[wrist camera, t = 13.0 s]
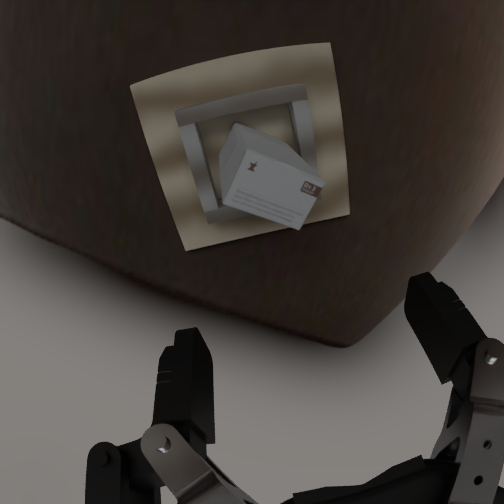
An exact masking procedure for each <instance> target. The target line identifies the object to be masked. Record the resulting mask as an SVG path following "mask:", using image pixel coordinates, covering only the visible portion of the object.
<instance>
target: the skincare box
mask: <svg viewBox="0 0 504 504" xmlns="http://www.w3.org/2000/svg"><path fill="white" fill-rule="evenodd" d="M219 166H220V179H221V191H222V203H223V205H226V206H229V207H232V208H235V209H238V210H241V211H244V212H247V213H250V214H253V215H256V216H259V217H262V218H265V219H268V220H271V221H274V222H277V223H280V224H283V225H285V226H288V227H291V228H294V229H297V230H300V228H301V227H302V225H303V223H304V221H305V219H306V218H307V216H308V214H309V212H310V210H311V209H312V207H313V205H314V203H315V201H316V200H317V198H318V196H319V194H320V193H321V191H322V189H323V187H324V186H325V181H324V180H323V179H322V178H321V177H320V176H319V175H318V174H317V173H316V172H315V171H314V170H313V169H312V168H311V167H310V166H309V165H308V164H307V163H306V162H305V161H304V160H303V159H302V158H301V157H300V156H299V155H298V154H297V153H296V152H295V151H294V150H293V149H292V148H291V147H290V146H289V145H287V144H286V143H285V142H283V141H281V140H278V139H276V138H274V137H272V136H269V135H267V134H265V133H262V132H260V131H257V130H255V129H253V128H250V127H248V126H245V125H243V124H240V123H238V122H233V124H232V126H231V129H230V131H229V133H228V135H227V137H226V140H225V142H224V144H223V146H222V149H221V151H220V154H219Z"/></svg>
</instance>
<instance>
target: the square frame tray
mask: <svg viewBox="0 0 504 504" xmlns="http://www.w3.org/2000/svg"><path fill="white" fill-rule="evenodd" d="M130 89H131V92H132V96H133V99H134V102H135V106H136V109H137V112H138V116H139V119H140V122H141V125H142V128H143V132H144V135H145V138H146V141H147V144H148V147H149V150H150V153H151V156H152V159H153V162H154V165H155V168H156V171H157V174H158V177H159V180H160V183H161V186H162V188H163V191H164V194H165V197H166V200H167V202H168V205H169V208H170V211H171V213H172V216H173V219H174V221H175V224H176V227H177V229H178V232H179V235H180V237H181V240H182V242H183V245H184V248H185V250H186V251H188V250H192V249H197V248H201V247H205V246H210V245H214V244H218V243H223V242H227V241H231V240H236V239H240V238H244V237H249V236H253V235H258V234H262V233H267V232H271V231H276V230H280V229H285V228H289V227H288V226H285V225H283V224H280V223H277V222H274V221H271V220H268V219H265V218H262V217H259V216H256V215H253V214H250V213H247V212H244V211H241V210H238V209H235V208H232V207H229V206H226V205H223V203H222V191H221V179H220V166H219V154H220V151H221V149H222V146H223V144H224V142H225V140H226V137H227V135H228V133H229V131H230V129H231V126H232V124H233V122H238V123H240V124H243V125H245V126H248V127H250V128H253V129H255V130H257V131H260V132H262V133H265V134H267V135H269V136H272V137H274V138H276V139H278V140H281V141H283V142H285V143H286V144H287V145H289V146H290V147H291V148H292V149H293V150H294V151H295V152H296V153H297V154H298V155H299V156H300V157H301V158H302V159H303V160H304V161H305V162H306V163H307V164H308V165H309V166H310V167H311V168H312V169H313V170H314V171H315V172H316V173H317V174H318V175H319V176H320V177H321V178H322V179H323V180H324V181H325V186H324V187H323V189H322V191H321V193H320V194H319V196H318V198H317V200H316V201H315V203H314V205H313V207H312V209H311V210H310V212H309V214H308V216H307V218H306V219H305V221H304V223H303V224H307V223H312V222H317V221H321V220H326V219H330V218H335V217H340V216H344V215H349V214H350V209H349V190H348V175H347V163H346V151H345V141H344V132H343V123H342V115H341V107H340V99H339V92H338V86H337V79H336V73H335V67H334V61H333V56H332V50H331V45H330V43H316V44H305V45H295V46H286V47H279V48H272V49H265V50H259V51H253V52H247V53H242V54H237V55H232V56H228V57H223V58H219V59H214V60H210V61H206V62H202V63H198V64H195V65H191V66H187V67H184V68H180V69H177V70H174V71H170V72H167V73H164V74H161V75H158V76H155V77H152V78H149V79H146V80H143V81H141V82H138V83H135V84H133V85H130Z"/></svg>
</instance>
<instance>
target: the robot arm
mask: <svg viewBox="0 0 504 504" xmlns="http://www.w3.org/2000/svg"><path fill="white" fill-rule="evenodd" d="M404 311H405V315H406V318H407V320H408V322H409V324H410V325H411V327H412V329H413V331H414V333H415V334H416V336H417V338H418V340H419V342H420V343H421V345H422V347H423V348H424V351H425V353H426V354H427V356H428V358H429V360H430V362H431V364H432V365H433V368H434V370H435V372H436V374H437V376H438V378H439V380H440V382H441V384H444V383H447V382H449V381H452V383H453V388H452V391H451V396H450V401H449V405H448V409H447V413H446V417H445V421H444V425H443V429H442V432H441V434H440V436H439V438H438V440H437V442H436V444H435V447H434V449H433V452H432V455H431V458H430V459H423V458H422V455H420V456H417V457H415V458H412V459H410V460H408V461H405V462H403V463H400V464H398V465H395V466H393V467H391V468H389V469H388V470H386V471H385V472H383V473H381V474H380V475H378V476H377V477H375V478H373V479H372V480H370V481H368V482H367V483H365V484H362V485H355V486H335V487H334V486H333V487H323V488H319V489H314V490H309V491H304V492H299V493H293V498H291V499H289V500H286V501H284V502H283V503H281V504H504V488H502V487H500V486H498V483H499V480H500V475H501V472H502V468H503V463H504V344H503V343H501V342H500V341H499V340H497V339H494V338H488V337H487V336H486V335H485V334H484V332H483V330H482V329H481V328H480V326H479V325H478V323H477V322H476V320H475V319H474V317H473V316H472V315H471V313H470V312H469V310H468V309H467V308H465V305H464V304H463V303H462V301H461V300H459V297H458V296H457V294H456V293H455V292H454V290H453V289H452V288H451V287H449V286H448V285H446V284H445V283H443V282H439V283H438V282H437V281H436V280H435V278H434V277H433V276H432V275H431V274H430V273H429V272H425V273H422V274H419V275H416V276H412V277H410V279H409V283H408V288H407V293H406V299H405V304H404ZM213 391H214V390H213V362H212V357H211V354H210V351H209V349H208V347H207V345H206V343H205V341H204V339H203V337H202V336H201V334H200V332H199V330H198V328H196V327H194V328H188V329H183V330H178V331H176V333H175V340H174V346H167V347H166V348H165V349H164V351H163V353H162V355H161V357H160V358H159V366H158V374H157V384H156V392H155V401H154V413H153V421H152V425H151V427H150V428H149V429H147V430H146V431H145V433H144V434H143V436H142V438H140V439H138V440H135V441H132V442H129V443H126V444H123V445H120V446H115V445H113V444H112V443H109V442H100V443H97V444H96V445H94V446H93V447H92V448H91V450H90V452H89V454H88V459H87V471H86V489H85V504H161V493H160V487H162V486H167V487H168V488H169V490H170V491H171V492H172V493H173V495H174V496H175V497H176V499H177V501H178V503H177V504H258V503H257V502H256V501H254V500H253V499H252V498H251V497H250V496H249V495H247V494H246V493H245V492H244V491H242V490H241V489H240V488H239V487H238V486H237V485H236V484H234V482H233V481H231V480H230V479H229V478H228V477H227V476H226V475H225V474H224V473H223V472H222V471H221V470H220V469H219V467H218V466H216V464H215V463H214V462H213V461H212V460H211V459H210V458H209V457H208V456H207V454H206V444H214V443H215V423H214V392H213Z"/></svg>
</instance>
